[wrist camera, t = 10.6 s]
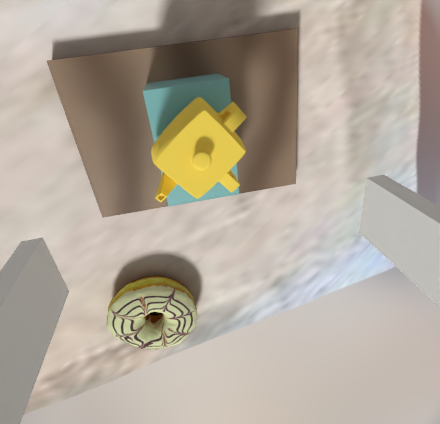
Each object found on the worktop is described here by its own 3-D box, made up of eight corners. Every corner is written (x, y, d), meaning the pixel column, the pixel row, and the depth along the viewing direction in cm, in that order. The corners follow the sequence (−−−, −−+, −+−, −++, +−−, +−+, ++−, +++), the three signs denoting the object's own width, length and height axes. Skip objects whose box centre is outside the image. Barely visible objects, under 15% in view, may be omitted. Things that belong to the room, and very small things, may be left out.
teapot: (190, 203, 25) (196, 237, 21) (134, 158, 22) (126, 186, 18) (261, 134, 23) (284, 154, 19) (208, 76, 21) (221, 84, 16)
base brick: (167, 182, 29) (168, 206, 25) (146, 83, 25) (142, 90, 20) (228, 172, 30) (239, 194, 25) (217, 73, 25) (229, 78, 21)
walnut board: (104, 211, 31) (102, 217, 30) (51, 60, 24) (46, 60, 23) (291, 179, 33) (295, 183, 32) (292, 29, 26) (298, 28, 25)
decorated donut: (130, 340, 41) (127, 366, 37) (95, 284, 35) (88, 308, 32) (204, 319, 41) (207, 343, 38) (181, 260, 36) (182, 282, 32)
